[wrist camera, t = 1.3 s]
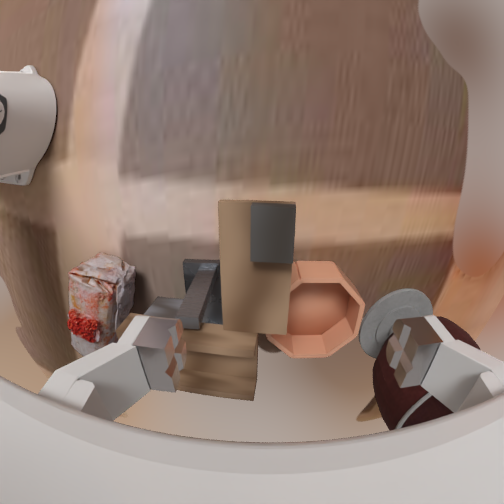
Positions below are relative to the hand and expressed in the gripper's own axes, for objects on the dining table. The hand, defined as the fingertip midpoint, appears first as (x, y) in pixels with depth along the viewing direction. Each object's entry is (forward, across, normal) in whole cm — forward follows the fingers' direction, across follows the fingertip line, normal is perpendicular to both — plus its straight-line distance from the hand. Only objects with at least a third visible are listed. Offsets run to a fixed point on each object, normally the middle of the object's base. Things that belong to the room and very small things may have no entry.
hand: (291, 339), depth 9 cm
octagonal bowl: (+24, -5, +13) cm, 27 cm away
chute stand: (+24, +7, +12) cm, 28 cm away
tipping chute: (+19, +6, +7) cm, 21 cm away
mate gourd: (+24, -20, +17) cm, 35 cm away
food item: (+24, +21, +12) cm, 34 cm away
